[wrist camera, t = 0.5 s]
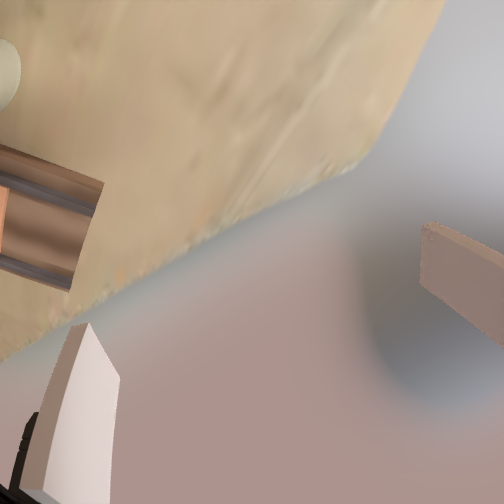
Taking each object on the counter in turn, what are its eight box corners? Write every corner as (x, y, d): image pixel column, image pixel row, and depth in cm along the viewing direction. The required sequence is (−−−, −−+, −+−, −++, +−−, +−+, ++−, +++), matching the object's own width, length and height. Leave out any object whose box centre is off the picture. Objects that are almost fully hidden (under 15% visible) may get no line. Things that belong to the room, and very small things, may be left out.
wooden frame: (-49, 126, 21) (-64, 136, 18) (104, 182, 33) (99, 197, 30) (-58, 231, 27) (-68, 247, 25) (71, 280, 39) (67, 298, 37)
